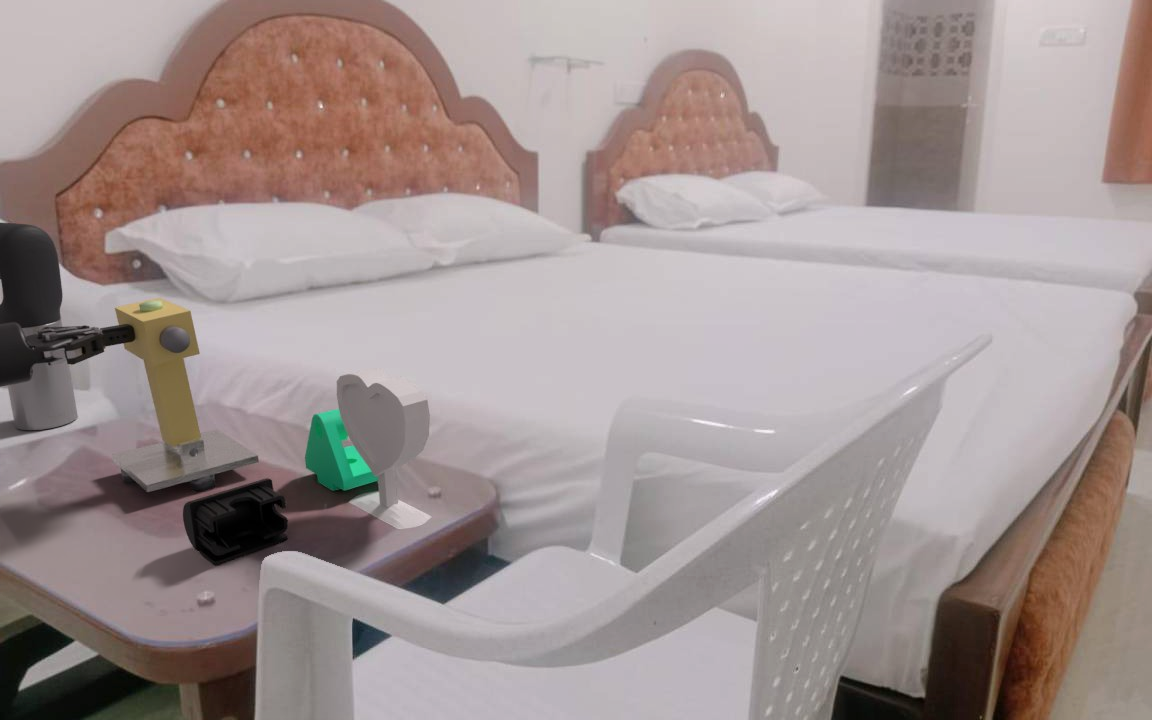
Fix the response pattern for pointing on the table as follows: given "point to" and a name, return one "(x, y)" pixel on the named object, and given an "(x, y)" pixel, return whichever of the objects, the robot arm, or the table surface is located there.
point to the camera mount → (334, 454)
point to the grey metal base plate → (183, 462)
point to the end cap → (236, 522)
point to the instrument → (165, 362)
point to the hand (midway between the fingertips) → (132, 332)
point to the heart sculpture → (385, 437)
